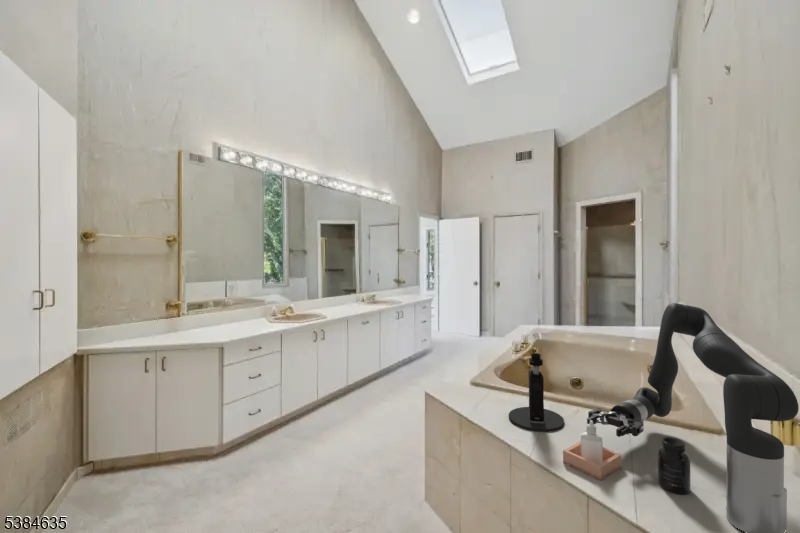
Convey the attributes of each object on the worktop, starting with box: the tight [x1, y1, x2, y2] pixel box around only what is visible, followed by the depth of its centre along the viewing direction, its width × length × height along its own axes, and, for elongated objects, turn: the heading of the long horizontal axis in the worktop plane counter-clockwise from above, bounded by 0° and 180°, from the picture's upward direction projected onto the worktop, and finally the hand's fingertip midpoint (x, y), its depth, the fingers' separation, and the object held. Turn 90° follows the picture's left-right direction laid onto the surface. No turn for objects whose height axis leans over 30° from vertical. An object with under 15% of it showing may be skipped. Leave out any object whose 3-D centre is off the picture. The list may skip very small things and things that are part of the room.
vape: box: [508, 352, 565, 433], centre depth 139 cm, size 19×19×25 cm
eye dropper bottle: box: [580, 420, 604, 464], centre depth 110 cm, size 4×6×12 cm
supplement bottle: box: [657, 436, 692, 495], centre depth 98 cm, size 7×7×12 cm
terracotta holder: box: [562, 440, 622, 481], centre depth 110 cm, size 11×11×4 cm
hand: (602, 427), depth 113 cm, fingers open, 8 cm apart
